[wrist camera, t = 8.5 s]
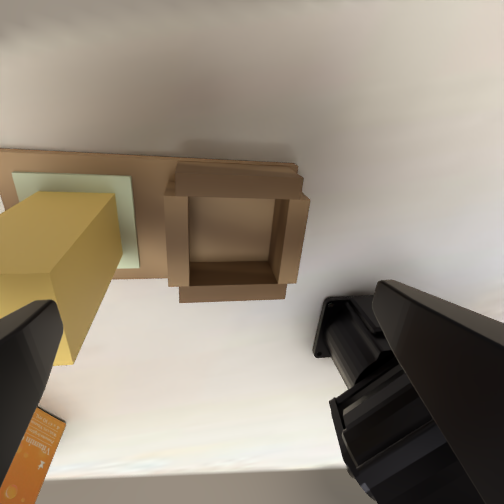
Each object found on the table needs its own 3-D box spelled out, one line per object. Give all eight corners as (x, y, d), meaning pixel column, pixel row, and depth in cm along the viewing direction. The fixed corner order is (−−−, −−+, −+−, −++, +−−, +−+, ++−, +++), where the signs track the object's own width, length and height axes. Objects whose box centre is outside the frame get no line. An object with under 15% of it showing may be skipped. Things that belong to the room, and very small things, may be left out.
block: (122, 254, 19) (73, 364, 11) (53, 255, 18) (-51, 373, 11) (114, 193, 17) (49, 273, 10) (37, 191, 17) (-103, 275, 9)
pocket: (281, 274, 22) (293, 298, 20) (172, 277, 21) (169, 303, 18) (297, 167, 19) (314, 178, 16) (167, 160, 17) (162, 172, 15)
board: (279, 268, 23) (283, 277, 22) (33, 273, 20) (24, 283, 19) (293, 163, 20) (299, 167, 19) (-2, 148, 17) (-17, 152, 15)
